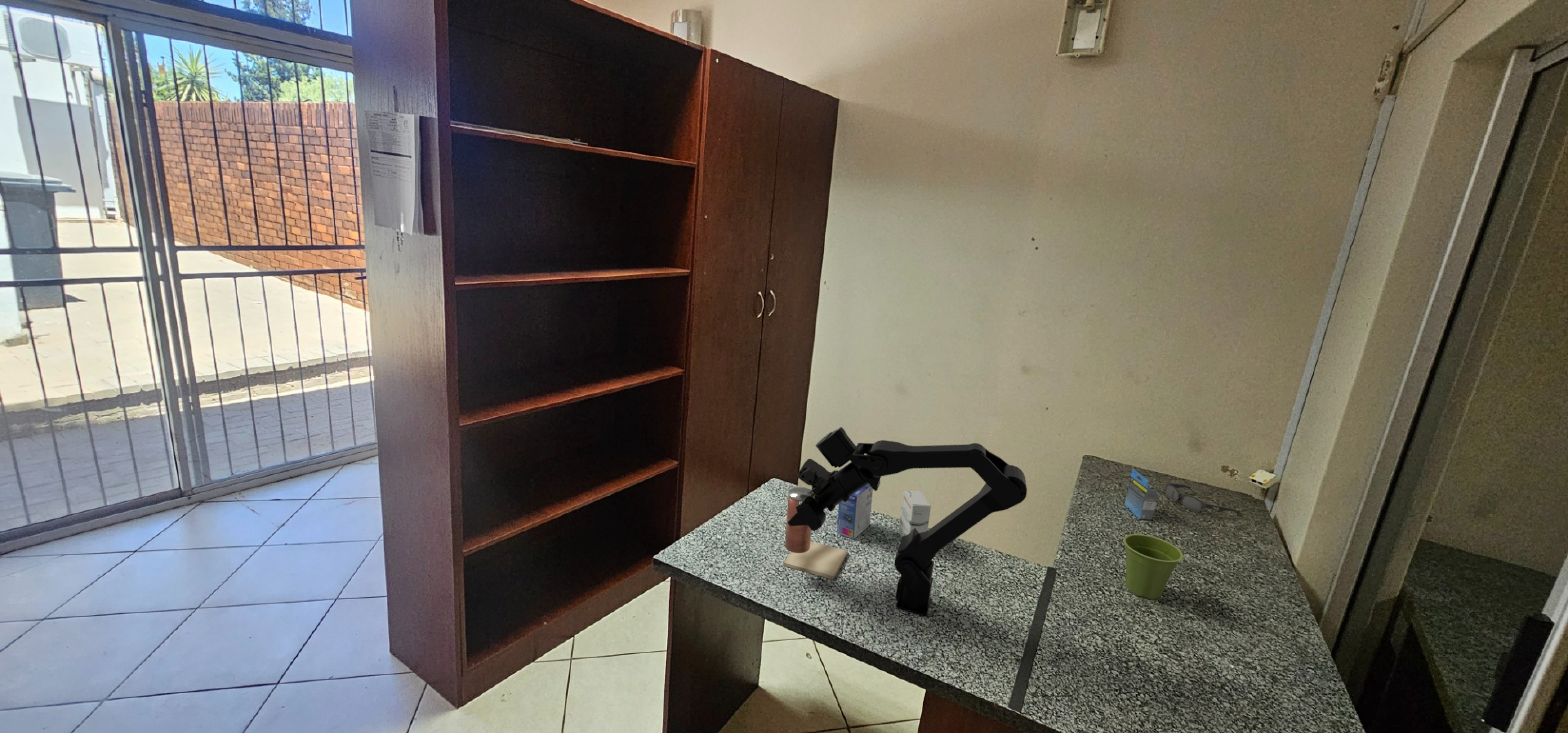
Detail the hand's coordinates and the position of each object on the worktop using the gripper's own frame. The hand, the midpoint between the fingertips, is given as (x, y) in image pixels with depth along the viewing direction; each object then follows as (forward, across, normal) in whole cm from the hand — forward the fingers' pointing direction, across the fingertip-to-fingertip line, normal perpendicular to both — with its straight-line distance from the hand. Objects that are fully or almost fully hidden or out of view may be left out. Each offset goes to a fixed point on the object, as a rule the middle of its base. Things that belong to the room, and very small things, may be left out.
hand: (793, 518), depth 135 cm
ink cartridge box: (+4, -26, +16) cm, 30 cm away
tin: (+4, 0, +6) cm, 7 cm away
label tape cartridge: (-49, -75, +69) cm, 113 cm away
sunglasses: (-62, -92, +84) cm, 140 cm away
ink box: (-7, -28, +26) cm, 39 cm away
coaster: (+7, -7, +12) cm, 16 cm away
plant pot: (-44, -30, +64) cm, 83 cm away
